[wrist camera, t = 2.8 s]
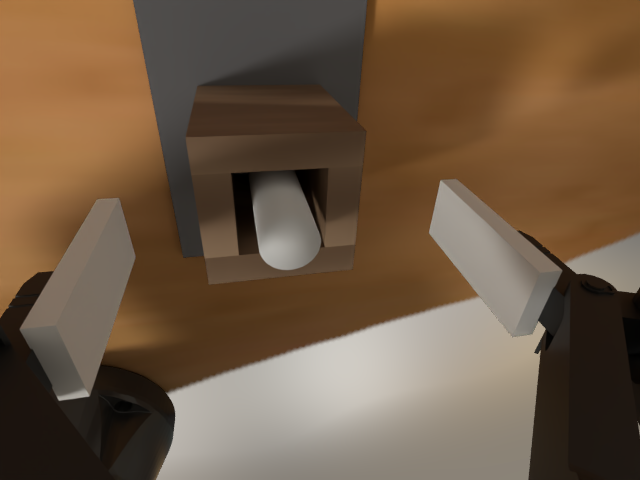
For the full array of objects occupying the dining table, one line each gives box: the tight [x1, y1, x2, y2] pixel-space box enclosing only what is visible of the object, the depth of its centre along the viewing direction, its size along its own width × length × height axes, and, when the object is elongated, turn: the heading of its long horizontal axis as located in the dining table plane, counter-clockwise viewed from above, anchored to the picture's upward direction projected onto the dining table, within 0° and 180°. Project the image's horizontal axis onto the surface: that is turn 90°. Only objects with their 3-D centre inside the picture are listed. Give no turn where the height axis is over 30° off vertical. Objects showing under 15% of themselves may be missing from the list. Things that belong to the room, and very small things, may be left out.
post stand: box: [133, 0, 367, 270], centre depth 20 cm, size 16×12×12 cm
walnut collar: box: [185, 85, 366, 285], centre depth 21 cm, size 7×7×9 cm
